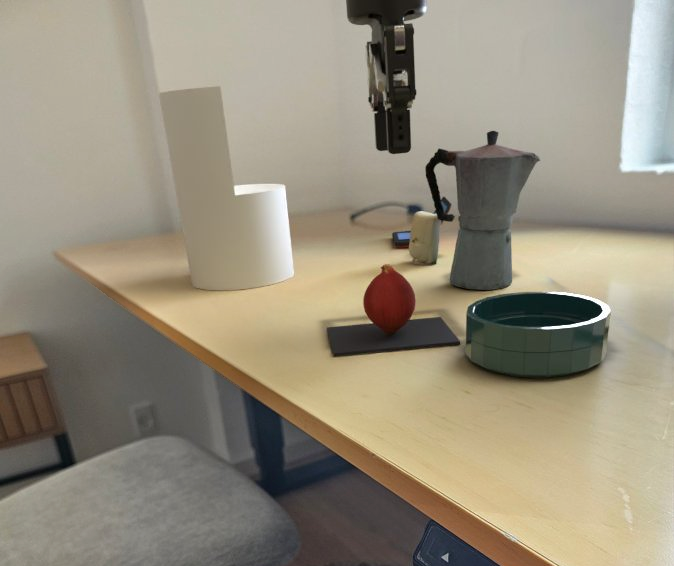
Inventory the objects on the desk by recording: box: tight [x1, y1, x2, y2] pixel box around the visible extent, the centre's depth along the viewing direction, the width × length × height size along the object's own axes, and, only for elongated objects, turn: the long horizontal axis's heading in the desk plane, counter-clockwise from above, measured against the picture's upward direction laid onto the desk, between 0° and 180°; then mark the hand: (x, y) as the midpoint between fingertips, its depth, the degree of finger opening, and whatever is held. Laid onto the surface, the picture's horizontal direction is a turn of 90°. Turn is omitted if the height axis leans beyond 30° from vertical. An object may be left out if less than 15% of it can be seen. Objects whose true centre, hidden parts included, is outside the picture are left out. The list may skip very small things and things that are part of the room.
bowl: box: [465, 291, 612, 379], centre depth 65 cm, size 13×13×5 cm
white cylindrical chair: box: [158, 85, 295, 291], centre depth 104 cm, size 17×17×28 cm
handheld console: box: [391, 196, 452, 249], centre depth 127 cm, size 12×11×7 cm
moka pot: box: [425, 130, 541, 291], centre depth 91 cm, size 10×15×20 cm, turn 71°
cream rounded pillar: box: [408, 210, 442, 266], centre depth 109 cm, size 6×5×8 cm
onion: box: [362, 263, 417, 334], centre depth 74 cm, size 6×6×8 cm
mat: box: [326, 316, 461, 358], centre depth 76 cm, size 14×10×1 cm
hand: (392, 151), depth 68 cm, fingers open, 8 cm apart
